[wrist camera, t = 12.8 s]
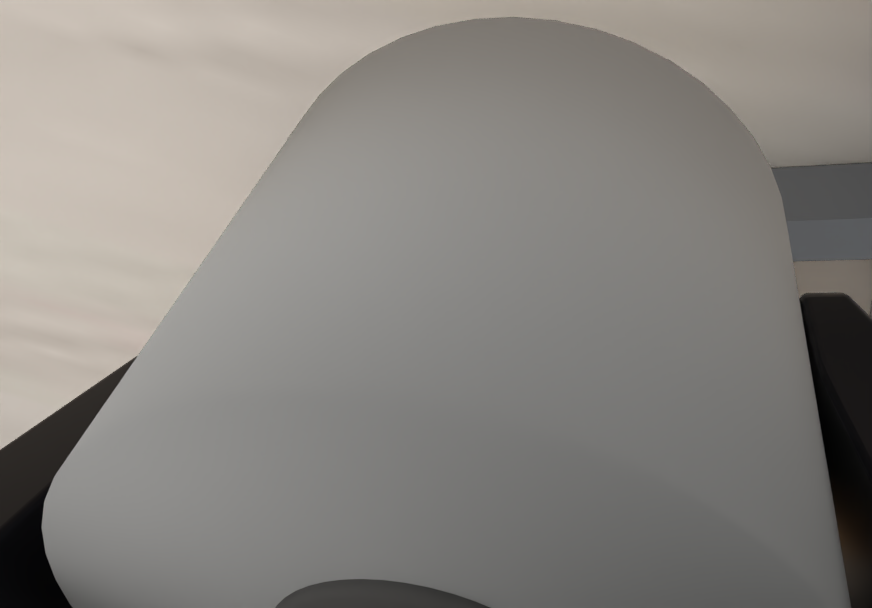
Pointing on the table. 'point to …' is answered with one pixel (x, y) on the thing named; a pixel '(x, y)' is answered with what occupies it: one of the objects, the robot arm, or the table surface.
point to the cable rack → (828, 211)
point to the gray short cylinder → (475, 359)
